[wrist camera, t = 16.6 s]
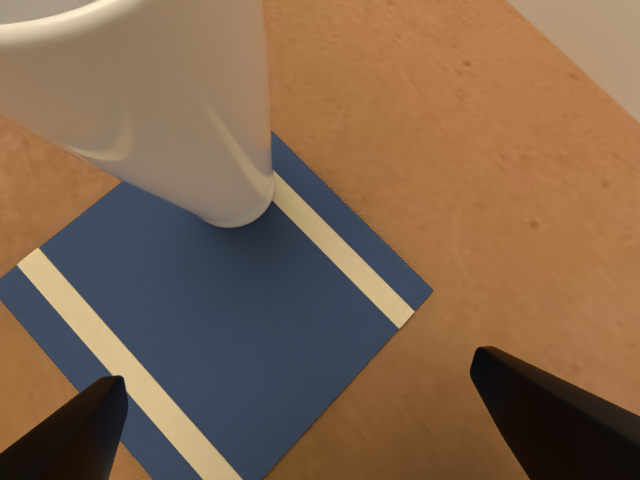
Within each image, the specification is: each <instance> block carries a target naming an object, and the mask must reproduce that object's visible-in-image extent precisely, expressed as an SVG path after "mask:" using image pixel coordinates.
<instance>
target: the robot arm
mask: <svg viewBox="0 0 640 480" xmlns="http://www.w3.org/2000/svg"><path fill="white" fill-rule="evenodd" d="M470 376H471V379H472V381H473V383H474V385H475V387H476V389H477V391H478V393H479V394H480V396H481V398H482V400H483V402H484V404H485V406H486V407H487V409H488V411H489V413H490V415H491V417H492V419H493V421H494V422H495V424H496V426H497V428H498V430H499V431H500V433H501V435H502V436H503V438H504V440H505V441H506V443H507V444H508V446H509V448H510V449H511V451H512V452H513V454H514V455H515V457H516V458H517V460H518V462H519V463H520V465H521V466H522V468H523V469H524V471H525V472H526V474H527V475H528V477H529V479H530V480H640V416H638V415H636V414H634V413H632V412H630V411H628V410H625V409H623V408H621V407H619V406H617V405H615V404H613V403H611V402H609V401H607V400H604V399H602V398H600V397H598V396H596V395H594V394H592V393H590V392H588V391H586V390H583V389H581V388H579V387H577V386H575V385H573V384H571V383H569V382H567V381H565V380H562V379H560V378H558V377H556V376H554V375H552V374H550V373H548V372H546V371H544V370H541V369H539V368H537V367H535V366H533V365H531V364H529V363H527V362H525V361H523V360H520V359H518V358H516V357H514V356H512V355H510V354H508V353H506V352H504V351H502V350H499V349H497V348H495V347H493V346H484V347H478V348H477V349H476V351H475V354H474V357H473V361H472V364H471V368H470ZM127 414H128V397H127V392H126V386H125V380H124V378H123V376H121V375H115V376H104V377H101V378H99V379H97V380H96V381H95V382H94V383H92V384H91V385H90V386H88V387H87V388H86V389H84V390H83V391H82V392H80V393H79V394H78V395H76V396H75V397H74V398H73V399H71V400H70V401H69V402H67V403H66V404H65V405H63V406H62V407H61V408H59V409H58V410H57V411H55V412H54V413H53V414H52V415H50V416H49V417H48V418H46V419H45V420H44V421H42V422H41V423H40V424H38V425H37V426H36V427H34V428H33V429H32V430H31V431H29V432H28V433H27V434H25V435H24V436H23V437H21V438H20V439H19V440H17V441H16V442H15V443H13V444H12V445H11V446H10V447H8V448H7V449H6V450H4V451H3V452H2V453H0V480H108V479H109V476H110V472H111V469H112V465H113V462H114V458H115V455H116V452H117V448H118V445H119V441H120V438H121V434H122V431H123V428H124V424H125V421H126V417H127Z"/></svg>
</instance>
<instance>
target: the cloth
mask: <svg viewBox="0 0 640 480" xmlns="http://www.w3.org/2000/svg"><path fill="white" fill-rule="evenodd" d="M271 144H272V166H273V172H274V176H275V191H274V195H273V198H272V201H271V203H270V205H269V206H268V208H267V209H266V211H265V212H264V213H263V214H262V215H261V216H260V217H259V218H257V219H256V220H254V221H253V222H251V223H249V224H247V225H244V226H240V227H234V228H223V227H218V226H214V225H211V224H209V223H207V222H205V221H203V220H202V219H200V218H199V217H197V216H196V215H195V214H193V213H191V212H189V211H187V210H184V209H182V208H180V207H178V206H176V205H174V204H172V203H170V202H167V201H165V200H163V199H161V198H159V197H157V196H155V195H152V194H150V193H148V192H146V191H144V190H141V189H139V188H137V187H135V186H133V185H131V184H128V183H126V182H124V181H123V182H121V183H120V184H119V185H118V186H116V187H115V188H114V189H112V190H111V191H110V192H109V193H107V194H106V195H105V196H104V197H102V198H101V199H100V200H99V201H97V202H96V203H95V204H94V205H92V206H91V207H90V208H89V209H87V210H86V211H85V212H83V213H82V214H81V215H80V216H78V217H77V218H76V219H75V220H73V221H72V222H71V223H70V224H68V225H67V226H66V227H65V228H63V229H62V230H61V231H60V232H58V233H57V234H56V235H55V236H53V237H52V238H51V239H49V240H48V241H47V242H46V243H44V244H43V245H42V246H41V247H39V248H37V249H35V250H34V251H33V252H31V253H30V254H29V255H28V256H26V257H25V258H24V259H23V260H21V261H20V262H19V263H18V264H16V265H17V266H15V267H14V268H13V269H12V270H10V271H9V272H8V273H7V274H5V275H4V276H3V277H2V278H0V300H1V301H2V302H3V303H4V305H5V306H6V307H7V308H8V309H9V311H10V312H11V313H12V314H13V315H14V316H15V318H16V319H17V320H18V321H19V322H20V323H21V325H22V326H23V327H24V328H25V329H26V330H27V332H28V333H29V334H30V335H31V336H32V338H33V339H34V340H35V341H36V342H37V343H38V345H39V346H40V347H41V348H42V349H43V350H44V352H45V353H46V354H47V355H48V356H49V358H50V359H51V360H52V361H53V362H54V363H55V365H56V366H57V367H58V368H59V369H60V370H61V372H62V373H63V374H64V375H65V376H66V378H67V379H68V380H69V381H70V382H71V383H72V385H73V386H74V387H75V388H76V389H77V390H78V392H79V393H80V392H82V391H83V390H84V389H86V388H87V387H88V386H90V385H91V384H92V383H94V382H95V381H96V380H97V379H99V378H101V377H104V376H115V375H121V376H123V378H124V380H125V386H126V392H127V397H128V414H127V417H126V421H125V424H124V428H123V431H122V434H121V438H120V441H121V442H122V443H123V445H124V446H125V447H126V448H127V449H128V450H129V452H130V453H131V454H132V455H133V456H134V457H135V459H136V460H137V461H138V462H139V463H140V464H141V466H142V467H143V468H144V469H145V470H146V472H147V473H148V474H149V475H150V476H151V477H152V479H153V480H262V479H263V478H264V476H265V475H266V474H267V473H268V472H269V471H270V470H271V469H272V468H273V467H274V465H275V464H276V463H277V462H278V461H279V460H280V459H281V458H282V457H283V456H284V454H285V453H286V452H287V451H288V450H289V449H290V448H291V447H292V446H293V445H294V443H295V442H296V441H297V440H298V439H299V438H300V437H301V436H302V435H303V434H304V432H305V431H306V430H307V429H308V428H309V427H310V426H311V425H312V424H313V423H314V421H315V420H316V419H317V418H318V417H319V416H320V415H321V414H322V413H323V412H324V410H325V409H326V408H327V407H328V406H329V405H330V404H331V403H332V402H333V401H334V399H335V398H336V397H337V396H338V395H339V394H340V393H341V392H342V391H343V390H344V388H345V387H346V386H347V385H348V384H349V383H350V382H351V381H352V380H353V379H354V378H355V376H356V375H357V374H358V373H359V372H360V371H361V370H362V369H363V368H364V367H365V365H366V364H367V363H368V362H369V361H370V360H371V359H372V358H373V357H374V356H375V354H376V353H377V352H378V351H379V350H380V349H381V348H382V347H383V346H384V345H385V343H386V342H387V341H388V340H389V339H390V338H391V337H392V336H393V335H394V334H395V332H396V331H397V330H398V329H400V328H401V327H402V326H403V324H404V323H405V322H406V321H407V320H408V319H409V318H410V317H411V316H412V315H413V313H414V312H415V310H416V309H417V308H418V307H419V306H420V305H421V304H422V303H423V302H424V301H425V299H426V298H427V297H428V296H429V295H430V294H431V293H432V292H433V289H432V288H431V287H430V286H429V285H428V284H427V283H426V282H425V281H424V280H423V279H422V278H421V277H419V276H418V275H417V274H416V273H415V272H414V271H413V270H412V269H411V268H410V267H409V266H408V265H407V264H406V263H405V262H404V261H403V260H402V259H401V258H400V257H399V256H398V255H397V254H396V253H395V252H394V251H393V250H392V249H391V248H390V247H389V246H388V245H387V244H386V243H385V242H384V241H383V240H382V239H381V238H380V237H379V236H378V235H377V234H376V233H375V232H374V231H373V230H372V229H371V228H370V227H369V226H368V225H367V224H366V223H365V222H364V221H363V220H362V219H361V218H360V217H359V216H358V215H357V214H356V213H355V212H354V211H353V210H352V209H351V208H350V207H348V206H347V205H346V204H345V203H344V202H343V201H342V200H341V199H340V198H339V197H338V196H337V195H336V194H335V193H334V192H333V191H332V190H331V189H330V188H329V187H328V186H327V185H326V184H325V183H324V182H323V181H322V180H321V179H320V178H319V177H318V176H317V175H316V174H315V173H314V172H313V171H312V170H311V169H310V168H309V167H308V166H307V165H306V164H305V163H304V162H303V161H302V160H301V159H300V158H299V157H298V156H297V155H296V154H295V153H294V152H293V151H292V150H291V149H290V148H289V147H288V146H287V145H286V144H285V143H284V142H283V141H282V140H281V139H280V138H279V137H277V136H276V135H275V134H274V133H273V132H272V131H271Z"/></svg>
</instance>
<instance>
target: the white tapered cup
mask: <svg viewBox="0 0 640 480" xmlns="http://www.w3.org/2000/svg"><path fill="white" fill-rule="evenodd" d="M0 116H2V117H4V118H5V119H7V120H9V121H10V122H12V123H14V124H15V125H17V126H19V127H20V128H22V129H24V130H25V131H27V132H29V133H31V134H32V135H34V136H36V137H38V138H39V139H41V140H43V141H45V142H46V143H48V144H50V145H52V146H54V147H56V148H57V149H59V150H61V151H63V152H65V153H67V154H69V155H71V156H72V157H74V158H76V159H78V160H80V161H82V162H84V163H86V164H88V165H90V166H92V167H94V168H97V169H99V170H101V171H103V172H105V173H107V174H109V175H111V176H113V177H115V178H118V179H120V180H122V181H124V182H126V183H128V184H131V185H133V186H135V187H137V188H139V189H141V190H144V191H146V192H148V193H150V194H152V195H155V196H157V197H159V198H161V199H163V200H165V201H167V202H170V203H172V204H174V205H176V206H178V207H180V208H182V209H184V210H187V211H189V212H191V213H193V214H195V215H196V216H197V217H199V218H200V219H202V220H203V221H205V222H207V223H209V224H211V225H214V226H218V227H223V228H234V227H240V226H244V225H247V224H249V223H251V222H253V221H254V220H256V219H257V218H259V217H260V216H261V215H262V214H263V213H264V212H265V211H266V209H267V208H268V206H269V205H270V203H271V201H272V198H273V195H274V191H275V176H274V172H273V166H272V144H271V109H270V75H269V56H268V44H267V34H266V25H265V17H264V9H263V1H262V0H0Z"/></svg>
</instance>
